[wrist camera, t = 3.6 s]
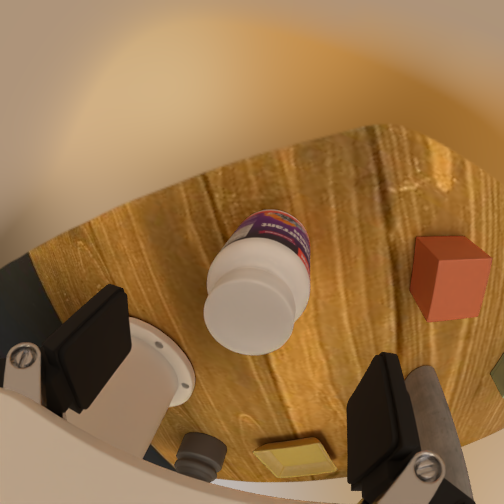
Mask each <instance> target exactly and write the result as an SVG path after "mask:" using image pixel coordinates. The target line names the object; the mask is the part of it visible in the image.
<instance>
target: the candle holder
mask: <svg viewBox="0 0 504 504" xmlns="http://www.w3.org/2000/svg"><path fill="white" fill-rule="evenodd" d="M226 452H227V448H226V446H225V445H224V444H223V442H221V441H220V440H218V439H216V438H214V437H212V436H209V435H207V434H202V433H188V434H185V436H184V438H183V441H182V443H181V445H180V448H179V450H178V452H177V455H176V456H177V458H178V460H177V461H176V462H175V464H174V466H175V468H176V472H177V473H179V474H182V475H185V476H189V477H192V478H195V479H198V480H201V481H205V482H208V483H210V482H211V481H213V480H215V479H216V478H217V473H216V472H219V471H220V470H221V468H222V465H223V462H224V459H225V455H226Z"/></svg>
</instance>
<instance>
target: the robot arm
mask: <svg viewBox="0 0 504 504" xmlns="http://www.w3.org/2000/svg"><path fill="white" fill-rule="evenodd" d="M194 387H195V374H194V370H193V368H192V365H191V363H190V361H189V360H188V358H187V357H186V355H185V354H184V352H183V351H182V350H181V349H180V348H179V346H178V345H177V344H176V343H175V342H173V341H172V340H171V339H170V338H169V337H168V336H167V335H165V334H164V333H163V332H161V331H160V330H159V329H157V328H155V327H153V326H152V325H150V324H148V323H146V322H143V321H141V320H139V319H136V318H132V317H129V313H128V301H127V294H126V293H124V290H123V288H121V287H118V286H115V285H112V284H108V285H106V286H105V287H104V288H103V289H102V290H101V291H99V292H98V293H97V294H96V295H95V296H94V297H92V298H91V299H90V300H89V301H88V302H87V303H86V304H84V305H83V306H82V307H81V308H80V309H79V310H78V311H77V312H75V313H74V314H73V315H72V316H71V317H70V318H69V319H68V320H67V321H65V322H64V323H63V324H62V325H61V326H60V327H59V328H58V329H57V330H56V331H55V332H54V333H52V334H51V335H50V336H49V337H48V338H47V339H46V340H45V341H44V342H43V343H42V347H41V348H40V349H39V348H38V346H36V345H35V344H33V343H29V342H23V343H19V344H17V345H15V346H14V347H12V348H11V349H10V351H9V352H8V354H7V358H4V359H0V504H336V503H321V502H310V501H300V500H291V499H284V498H277V497H271V496H265V495H260V494H254V493H249V492H244V491H240V490H235V489H231V488H227V487H223V486H219V485H216V484H212V483H208V482H205V481H201V480H198V479H195V478H192V477H189V476H185V475H182V474H179V473H177V472H174V471H171V470H168V469H165V468H163V467H160V466H158V465H155V464H152V463H150V462H147V461H145V460H143V457H144V455H145V453H146V451H147V449H148V447H149V445H150V443H151V441H152V439H153V437H154V435H155V433H156V431H157V429H158V427H159V425H160V423H161V421H162V419H163V417H164V415H165V413H166V411H167V409H168V407H172V406H177V405H180V404H183V403H184V402H186V401H187V400H188V399H189V397H190V396H191V394H192V392H193V390H194ZM347 444H348V469H347V481H348V483H349V484H351V491H362V497H363V498H362V499H361V500H360V501H359V502H358V504H475V502H474V501H473V500H472V499H471V498H470V497H469V496H467V495H466V494H465V493H463V492H462V491H461V490H460V489H458V488H457V487H456V486H454V485H453V484H452V483H450V482H449V481H448V480H447V479H445V478H444V476H445V472H446V467H445V463H444V461H443V459H442V458H441V457H440V456H439V455H438V454H437V453H435V452H433V451H428V450H424V451H421V445H420V440H419V435H418V430H417V425H416V420H415V416H414V411H413V407H412V403H411V398H410V395H409V392H408V391H407V389H406V385H405V381H404V377H403V374H402V370H401V366H400V363H399V359H398V356H397V354H393V353H387V352H381V353H380V354H379V355H376V356H375V357H374V358H373V360H372V362H371V364H370V366H369V367H368V369H367V371H366V373H365V374H364V376H363V378H362V379H361V381H360V383H359V385H358V386H357V388H356V390H355V391H354V393H353V394H352V396H351V398H350V399H349V401H348V404H347Z"/></svg>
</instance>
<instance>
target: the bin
mask: <svg viewBox="0 0 504 504" xmlns="http://www.w3.org/2000/svg"><path fill="white" fill-rule="evenodd" d="M490 375H491V376H492V379H493V380H494V382H495V384H496V386H497V388H498V390H499V392H500V394H501V396H502V397H504V354H503V355H502V357H501V358H500V360H499V361H498V363H497V364H496V366H495V367H494V369H493V370H492V372H491V373H490Z"/></svg>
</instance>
